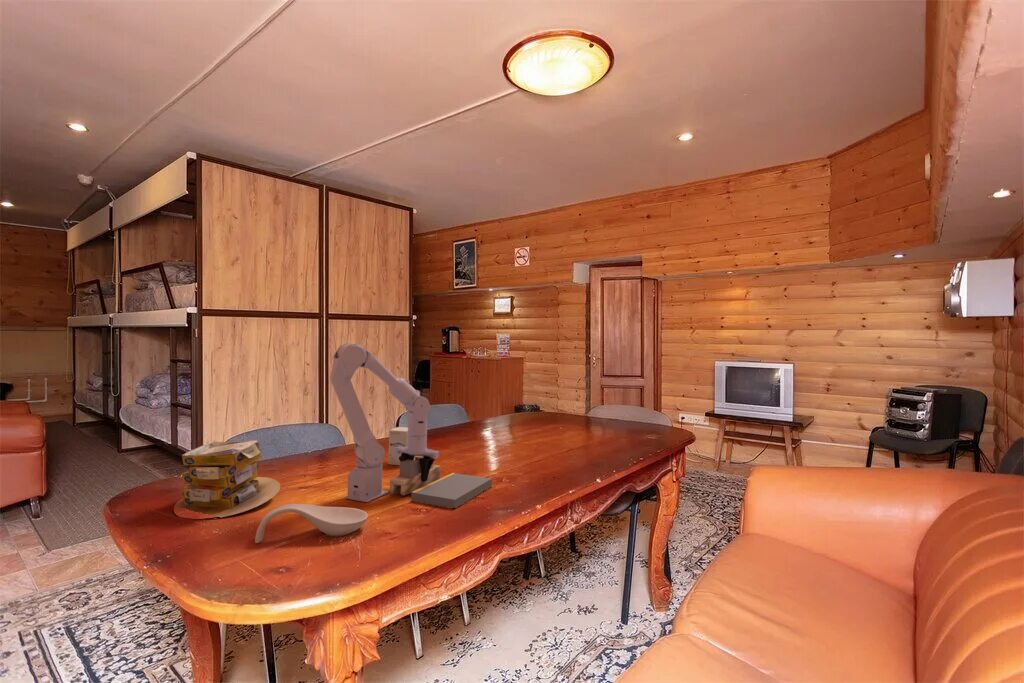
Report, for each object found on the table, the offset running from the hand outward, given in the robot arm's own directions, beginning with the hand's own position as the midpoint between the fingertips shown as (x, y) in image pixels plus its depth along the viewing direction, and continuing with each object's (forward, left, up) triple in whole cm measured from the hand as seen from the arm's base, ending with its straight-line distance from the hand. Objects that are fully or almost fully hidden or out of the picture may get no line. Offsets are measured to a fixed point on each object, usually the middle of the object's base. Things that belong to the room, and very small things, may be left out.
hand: (416, 479), depth 145 cm
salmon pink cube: (+4, 0, +2) cm, 5 cm away
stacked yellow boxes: (-34, +37, -3) cm, 50 cm away
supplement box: (+22, +22, -3) cm, 31 cm away
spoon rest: (-39, +1, -3) cm, 39 cm away
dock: (0, -13, -2) cm, 13 cm away
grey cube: (-4, 0, +2) cm, 4 cm away
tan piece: (0, 0, -2) cm, 2 cm away
